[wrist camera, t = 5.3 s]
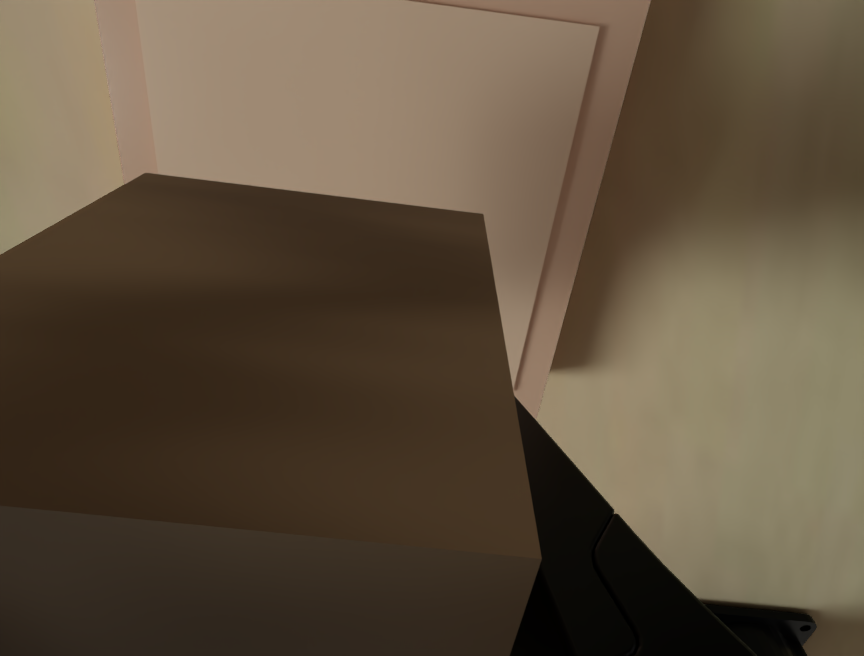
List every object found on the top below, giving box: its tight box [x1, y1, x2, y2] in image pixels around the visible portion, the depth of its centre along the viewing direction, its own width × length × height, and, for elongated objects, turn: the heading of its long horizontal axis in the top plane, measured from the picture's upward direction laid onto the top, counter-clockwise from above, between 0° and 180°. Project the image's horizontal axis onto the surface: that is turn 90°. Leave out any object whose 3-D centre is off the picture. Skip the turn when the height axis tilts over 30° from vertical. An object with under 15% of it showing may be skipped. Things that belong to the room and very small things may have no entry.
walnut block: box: [0, 173, 542, 656], centre depth 7 cm, size 5×5×6 cm
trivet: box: [94, 0, 651, 419], centre depth 16 cm, size 12×12×3 cm
